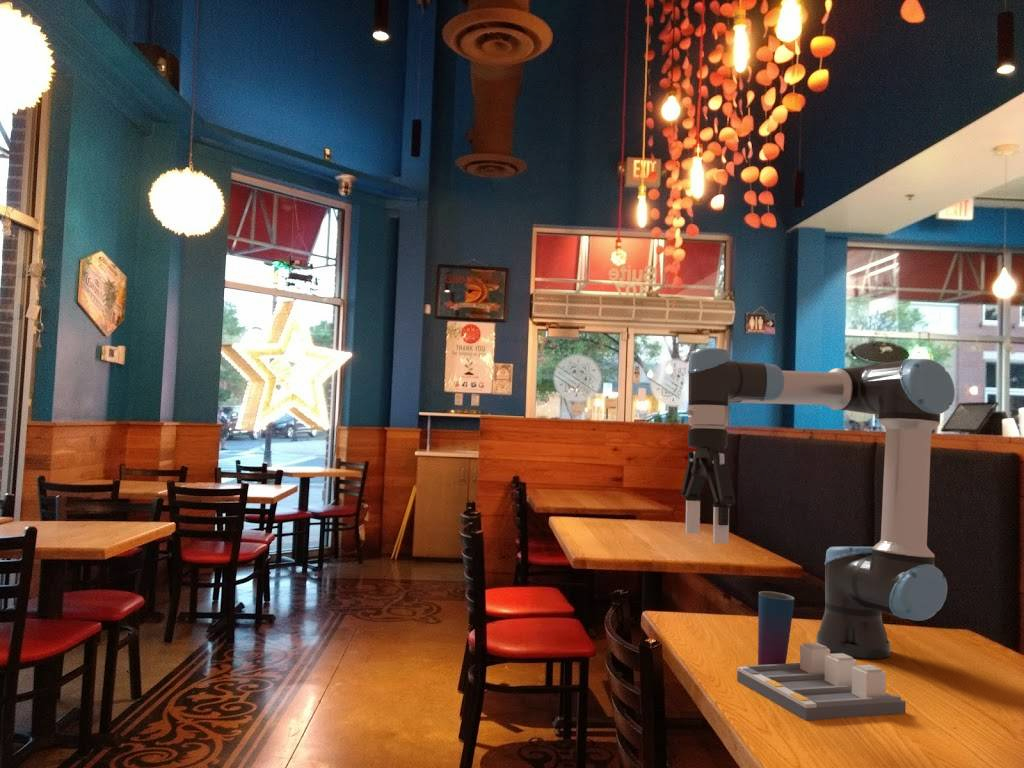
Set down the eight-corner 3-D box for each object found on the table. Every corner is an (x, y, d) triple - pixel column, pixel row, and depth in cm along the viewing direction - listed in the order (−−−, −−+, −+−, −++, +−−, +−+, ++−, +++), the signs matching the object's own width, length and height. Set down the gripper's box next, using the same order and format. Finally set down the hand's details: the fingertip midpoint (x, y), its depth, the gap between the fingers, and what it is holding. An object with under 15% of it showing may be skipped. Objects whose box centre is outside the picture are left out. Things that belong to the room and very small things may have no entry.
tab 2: (870, 692, 130) (870, 663, 131) (885, 699, 127) (885, 669, 127) (851, 693, 129) (851, 664, 130) (866, 700, 126) (866, 671, 126)
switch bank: (826, 676, 146) (826, 661, 146) (905, 713, 126) (905, 696, 127) (737, 681, 140) (737, 665, 140) (806, 720, 121) (806, 703, 121)
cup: (791, 679, 143) (797, 601, 143) (755, 673, 144) (760, 596, 145) (786, 668, 149) (791, 594, 150) (751, 663, 151) (756, 589, 152)
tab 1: (817, 667, 144) (817, 642, 144) (829, 673, 140) (830, 647, 141) (799, 668, 143) (800, 642, 143) (811, 674, 139) (812, 648, 140)
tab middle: (842, 679, 137) (842, 652, 137) (856, 685, 134) (856, 658, 134) (824, 680, 136) (824, 653, 136) (837, 686, 133) (837, 658, 133)
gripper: (666, 427, 155) (665, 529, 154) (715, 426, 131) (713, 547, 129) (700, 429, 156) (699, 530, 155) (755, 427, 132) (754, 547, 130)
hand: (706, 538), depth 142 cm, fingers open, 13 cm apart
